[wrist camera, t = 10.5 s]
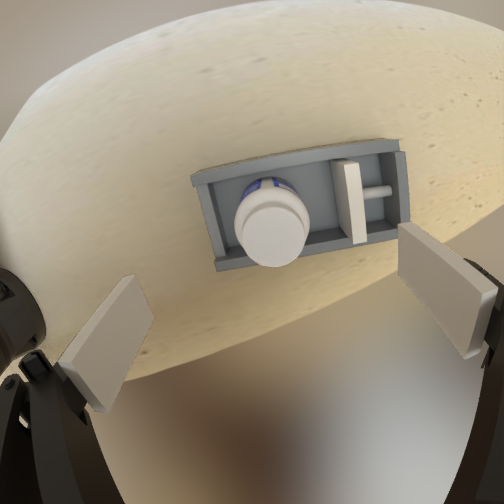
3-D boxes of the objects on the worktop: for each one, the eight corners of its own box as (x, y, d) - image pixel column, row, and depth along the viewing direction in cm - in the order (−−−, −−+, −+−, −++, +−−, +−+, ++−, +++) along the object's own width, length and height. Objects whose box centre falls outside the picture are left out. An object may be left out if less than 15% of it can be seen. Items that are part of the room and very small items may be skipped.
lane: (222, 255, 30) (215, 277, 25) (200, 170, 26) (186, 177, 22) (390, 224, 27) (410, 240, 23) (382, 138, 24) (403, 140, 20)
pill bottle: (246, 234, 28) (237, 284, 19) (236, 180, 26) (220, 204, 17) (302, 227, 27) (319, 273, 18) (295, 171, 25) (312, 190, 16)
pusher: (339, 225, 27) (353, 244, 22) (329, 159, 24) (343, 165, 20) (384, 217, 26) (405, 234, 22) (377, 153, 24) (400, 158, 19)
